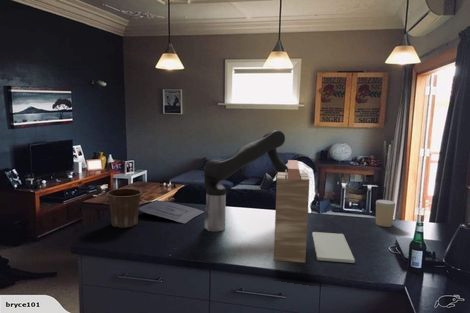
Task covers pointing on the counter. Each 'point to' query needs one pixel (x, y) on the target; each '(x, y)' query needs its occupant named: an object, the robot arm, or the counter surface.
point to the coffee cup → (384, 212)
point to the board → (332, 247)
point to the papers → (171, 211)
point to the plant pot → (124, 207)
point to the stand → (291, 217)
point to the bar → (293, 170)
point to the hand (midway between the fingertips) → (291, 175)
